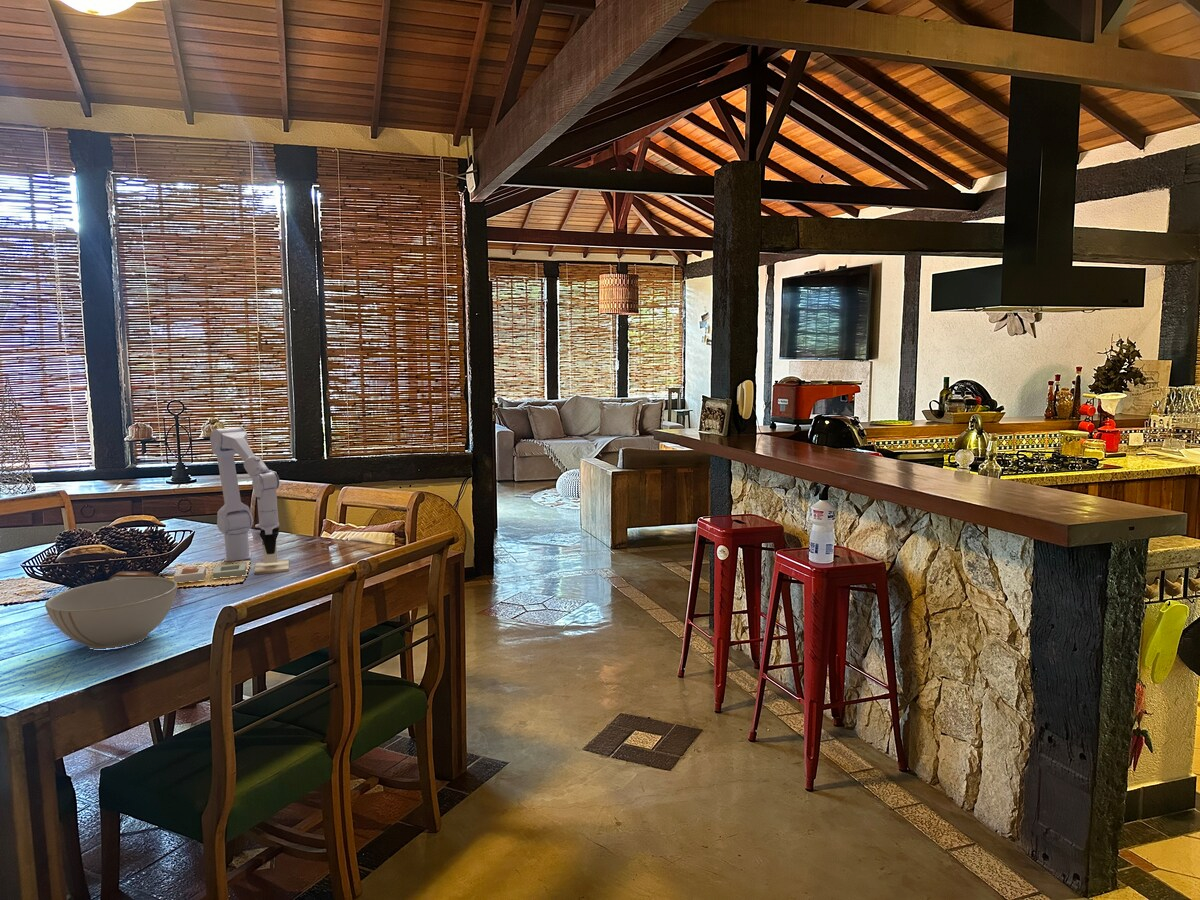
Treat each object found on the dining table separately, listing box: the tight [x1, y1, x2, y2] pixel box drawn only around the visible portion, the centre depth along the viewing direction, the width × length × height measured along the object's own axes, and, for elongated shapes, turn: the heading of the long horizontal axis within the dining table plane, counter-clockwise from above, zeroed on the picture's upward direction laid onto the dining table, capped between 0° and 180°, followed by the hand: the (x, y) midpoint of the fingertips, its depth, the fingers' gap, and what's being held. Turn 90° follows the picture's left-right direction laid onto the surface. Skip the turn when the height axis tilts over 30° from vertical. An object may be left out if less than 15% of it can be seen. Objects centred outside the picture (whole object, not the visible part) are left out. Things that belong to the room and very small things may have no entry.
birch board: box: [253, 559, 290, 576], centre depth 253 cm, size 12×10×1 cm
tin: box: [107, 570, 158, 581], centre depth 221 cm, size 15×3×8 cm, turn 84°
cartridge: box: [261, 539, 279, 564], centre depth 253 cm, size 4×4×7 cm
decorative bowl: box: [44, 576, 178, 649], centre depth 189 cm, size 27×27×12 cm
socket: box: [212, 562, 248, 579], centre depth 247 cm, size 9×9×2 cm
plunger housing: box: [173, 566, 207, 583], centre depth 242 cm, size 8×8×2 cm
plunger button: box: [181, 566, 198, 574], centre depth 242 cm, size 4×4×3 cm
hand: (270, 552), depth 253 cm, fingers closed on cartridge, 4 cm apart
